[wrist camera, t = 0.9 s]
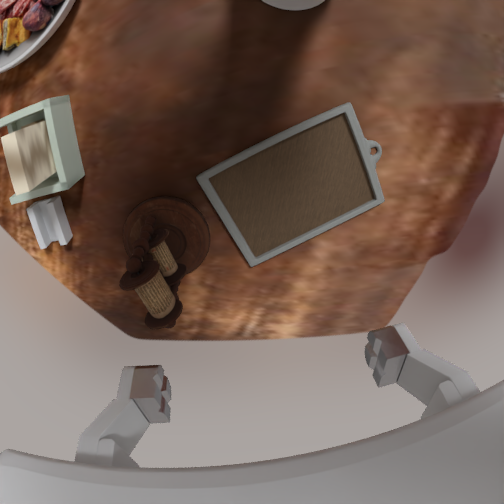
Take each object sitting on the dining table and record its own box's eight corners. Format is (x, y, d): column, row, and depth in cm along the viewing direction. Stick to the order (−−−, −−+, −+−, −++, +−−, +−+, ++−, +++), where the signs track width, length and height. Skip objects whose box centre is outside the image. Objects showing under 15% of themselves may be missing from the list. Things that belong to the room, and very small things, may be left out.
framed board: (195, 178, 48) (364, 97, 44) (196, 175, 50) (360, 96, 45) (251, 268, 58) (397, 195, 53) (250, 263, 59) (393, 192, 55)
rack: (13, 116, 39) (-10, 123, 33) (68, 94, 39) (48, 98, 33) (30, 189, 46) (11, 204, 40) (85, 175, 46) (68, 189, 40)
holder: (34, 202, 47) (26, 209, 44) (60, 195, 47) (52, 202, 45) (47, 240, 51) (40, 249, 48) (73, 235, 51) (66, 244, 49)
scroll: (112, 212, 50) (69, 280, 33) (190, 179, 49) (177, 238, 32) (149, 279, 58) (130, 360, 41) (222, 254, 57) (227, 334, 40)
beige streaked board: (49, 119, 40) (0, 137, 28) (61, 115, 40) (14, 131, 28) (58, 165, 44) (16, 195, 32) (71, 161, 44) (29, 191, 32)
